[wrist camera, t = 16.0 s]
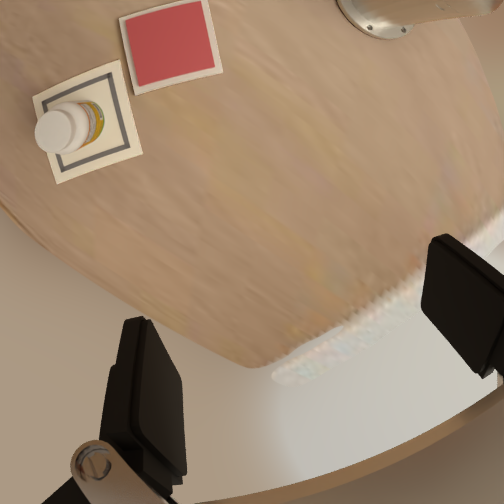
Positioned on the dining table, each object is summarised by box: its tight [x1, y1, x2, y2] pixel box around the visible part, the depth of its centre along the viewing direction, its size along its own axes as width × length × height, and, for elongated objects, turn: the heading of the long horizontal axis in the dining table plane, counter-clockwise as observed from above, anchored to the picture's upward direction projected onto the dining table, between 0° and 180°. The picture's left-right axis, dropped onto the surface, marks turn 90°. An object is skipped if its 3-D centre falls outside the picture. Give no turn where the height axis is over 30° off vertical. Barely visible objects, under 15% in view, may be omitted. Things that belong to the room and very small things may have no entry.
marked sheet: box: [32, 59, 143, 184], centre depth 31 cm, size 12×12×1 cm
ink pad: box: [119, 0, 223, 96], centre depth 28 cm, size 10×10×2 cm
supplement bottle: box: [35, 100, 105, 155], centre depth 27 cm, size 5×5×10 cm
